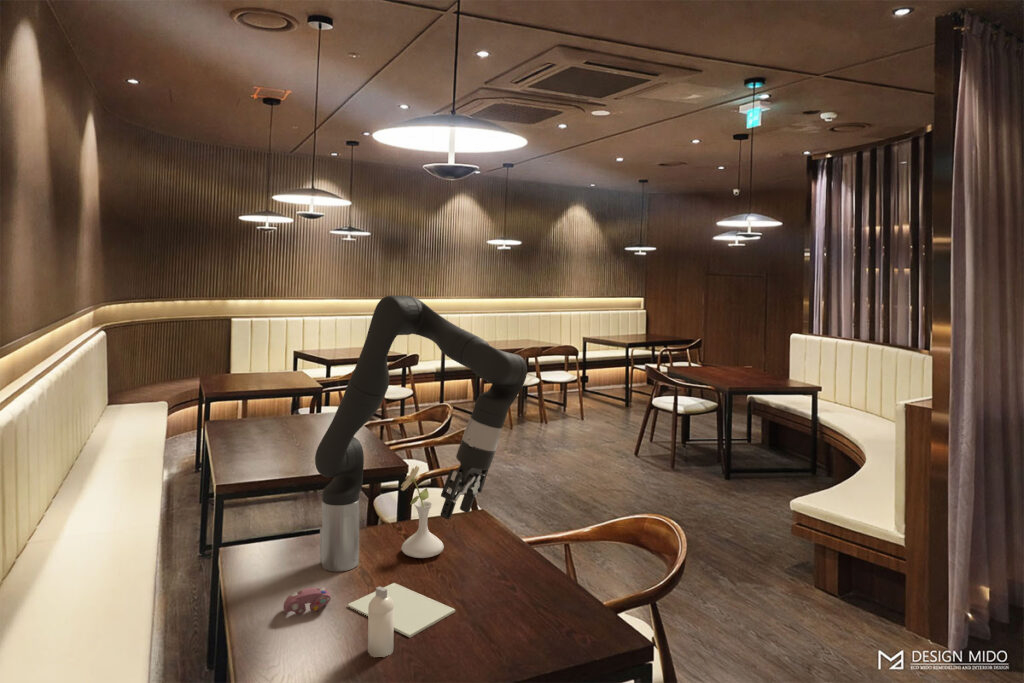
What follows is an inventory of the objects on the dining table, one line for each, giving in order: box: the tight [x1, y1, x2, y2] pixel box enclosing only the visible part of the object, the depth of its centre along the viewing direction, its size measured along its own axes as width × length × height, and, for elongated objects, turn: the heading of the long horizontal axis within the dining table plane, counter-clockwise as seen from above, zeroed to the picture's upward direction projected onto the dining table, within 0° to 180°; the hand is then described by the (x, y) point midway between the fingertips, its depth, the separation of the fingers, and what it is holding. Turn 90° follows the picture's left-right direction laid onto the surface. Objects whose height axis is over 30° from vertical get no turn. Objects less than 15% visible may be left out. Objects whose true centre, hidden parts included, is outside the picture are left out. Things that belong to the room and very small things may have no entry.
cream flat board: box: [347, 582, 456, 639], centre depth 147 cm, size 20×14×1 cm
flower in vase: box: [400, 465, 445, 559], centre depth 176 cm, size 13×11×25 cm
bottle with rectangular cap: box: [367, 585, 395, 658], centre depth 130 cm, size 5×5×13 cm
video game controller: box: [283, 587, 332, 615], centre depth 145 cm, size 10×5×7 cm, turn 118°
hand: (454, 514), depth 138 cm, fingers open, 8 cm apart
